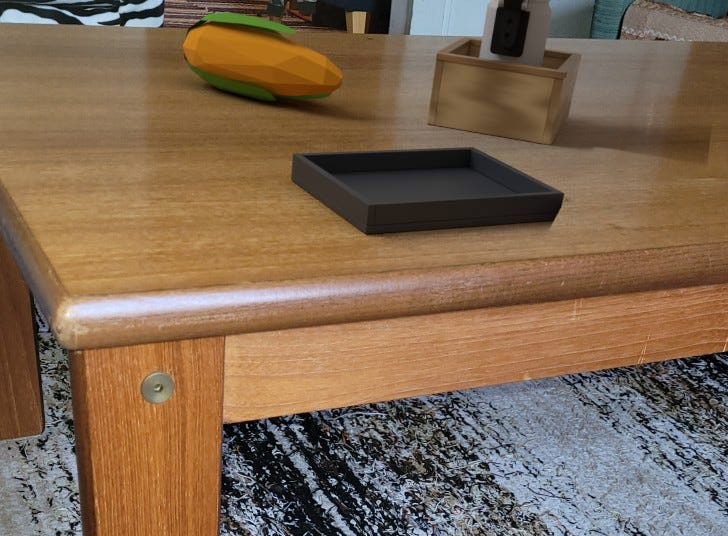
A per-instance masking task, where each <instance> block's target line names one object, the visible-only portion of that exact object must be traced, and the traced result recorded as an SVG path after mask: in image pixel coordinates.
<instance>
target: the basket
mask: <svg viewBox="0 0 728 536" xmlns="http://www.w3.org/2000/svg"><path fill="white" fill-rule="evenodd" d="M481 43H482V38H478V37H477V38H476V37H471V36H464V37H462V38H459V39H458V40H456V41H454V42H453V43H451V44H449V45H447V46H446V47H444V48H442V49H440V50H438V52H436V55H435V64H434V72H433V79H432V86H431V87H432V88H431V93H430V100H429V109H428V114H427V121H426V123H427V125H432V126H437V127H443V128H448V129H453V130H454V129H455V130H461V131H466V132H472V133H476V134H477V133H478V134H482V135H483V134H484V135H489V136H496V137H501V138H508V139H514V140H518V141H524V142H530V143H535V144H536V143H537V144H542V145H547V146H550V145H551V144H552V142H553V141H554V140H555V138H556V137H557V136H558V134H559V132H561V130H562V129H563V127H564V126H565V124H566V123H567V121H568V119H569V115H570V110H571V105H572V100H573V95H574V92H575V91H574V90H575V87H576V83H577V79H578V78H577V77H578V73H579V68H580V64H581V60H582V55H583V54H582V53H578V52H573V51H572V52H571V51H564V50H558V49H552V48H551V49H550V48H545V51H544V56H543V61H542V66H541V67H535V66H529V65H522V64H516V63H509V62H503V61H496V60H490V59H483V58H479V55H480V49H481Z"/></svg>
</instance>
